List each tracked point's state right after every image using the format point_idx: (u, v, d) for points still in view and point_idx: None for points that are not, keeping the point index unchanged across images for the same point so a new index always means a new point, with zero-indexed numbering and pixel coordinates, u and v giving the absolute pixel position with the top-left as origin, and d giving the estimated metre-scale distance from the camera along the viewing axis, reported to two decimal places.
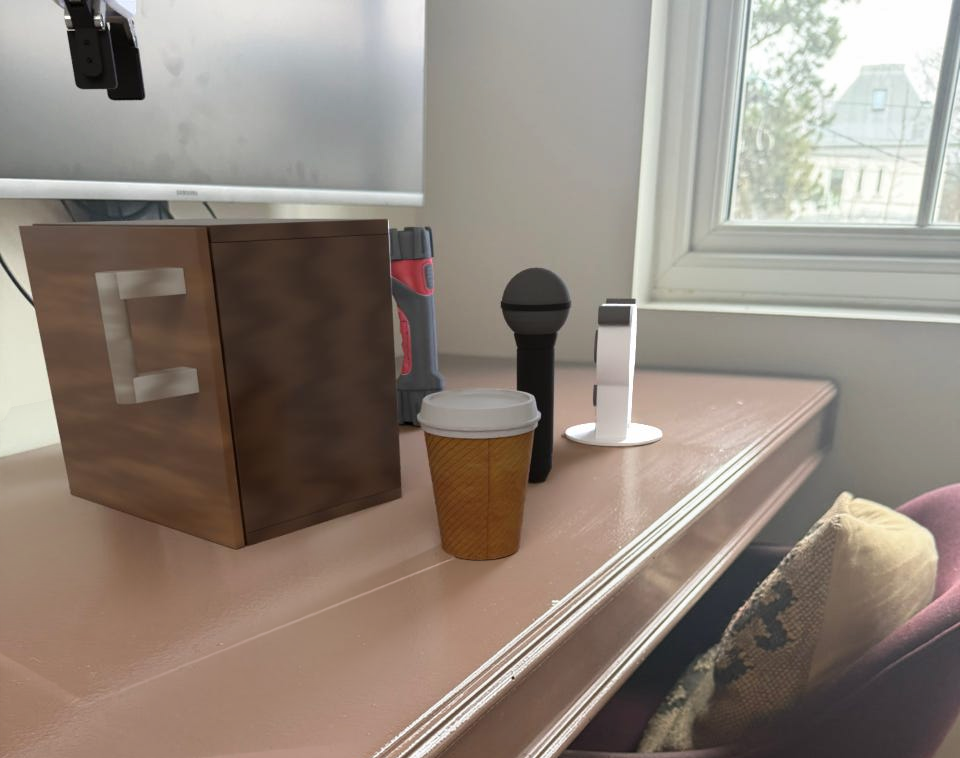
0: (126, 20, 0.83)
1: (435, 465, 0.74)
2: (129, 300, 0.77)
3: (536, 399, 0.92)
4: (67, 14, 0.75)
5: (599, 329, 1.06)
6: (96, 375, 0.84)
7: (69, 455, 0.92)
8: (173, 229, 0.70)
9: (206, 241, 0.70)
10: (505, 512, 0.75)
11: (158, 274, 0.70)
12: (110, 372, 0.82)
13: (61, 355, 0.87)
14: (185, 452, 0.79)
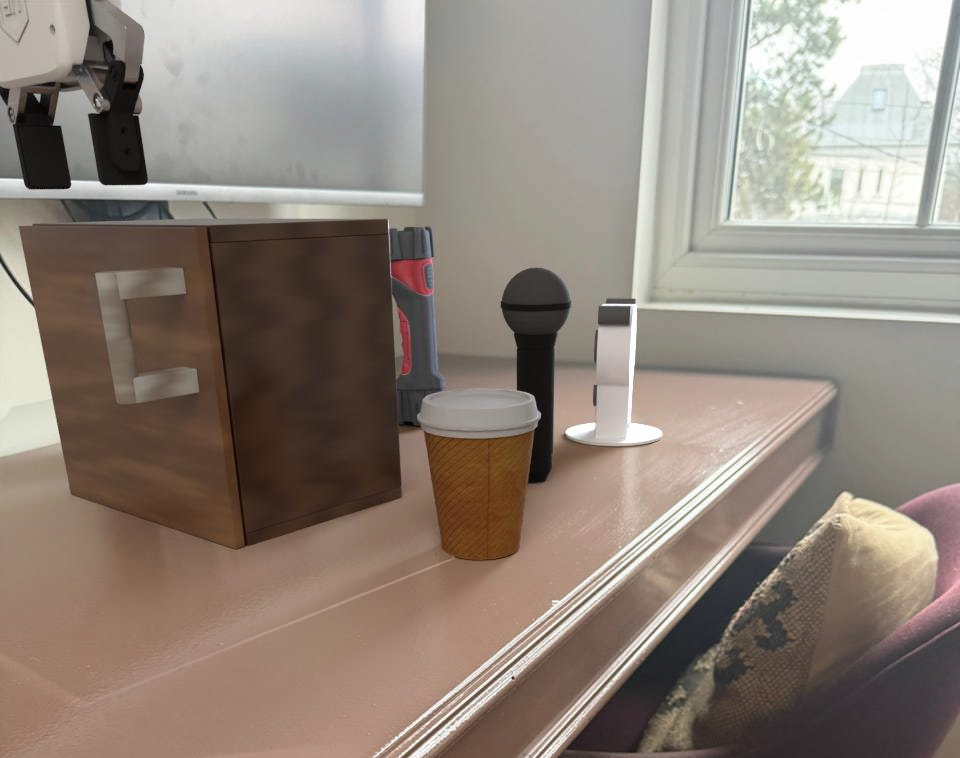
0: (57, 92, 0.66)
1: (435, 466, 0.74)
2: (129, 300, 0.77)
3: (536, 399, 0.92)
4: (104, 94, 0.59)
5: (599, 329, 1.06)
6: (96, 375, 0.84)
7: (69, 455, 0.92)
8: (173, 229, 0.70)
9: (206, 241, 0.70)
10: (505, 512, 0.75)
11: (158, 274, 0.70)
12: (110, 372, 0.82)
13: (61, 355, 0.87)
14: (185, 452, 0.79)
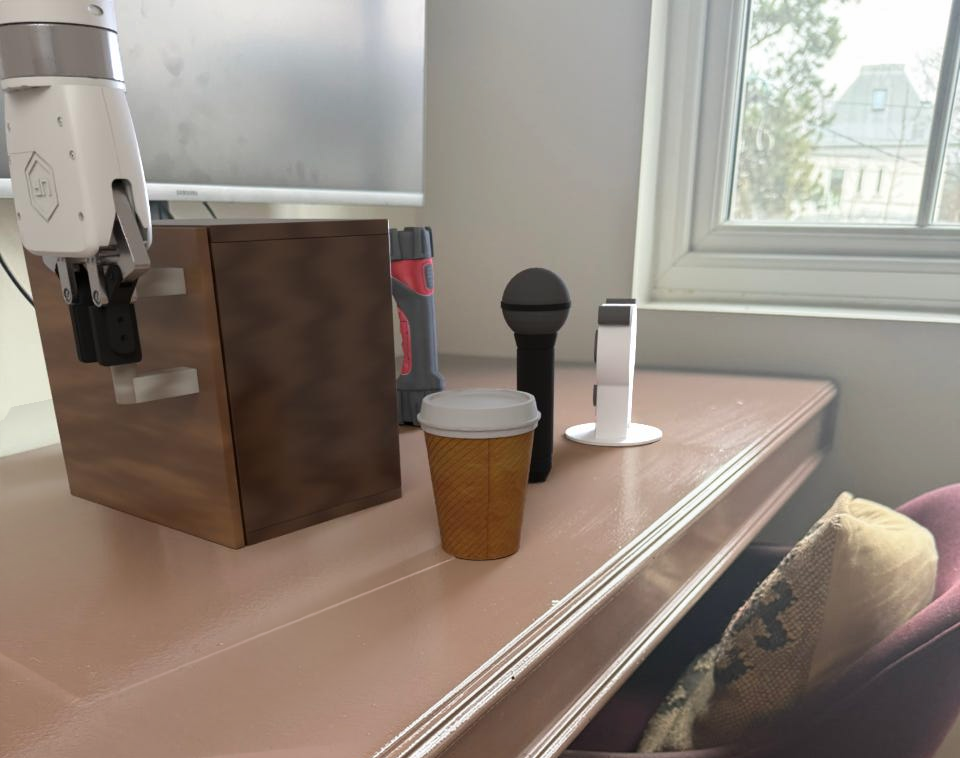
0: None
1: (435, 465, 0.74)
2: None
3: (536, 399, 0.92)
4: (105, 299, 0.66)
5: (599, 329, 1.06)
6: (96, 375, 0.84)
7: (69, 455, 0.92)
8: (173, 229, 0.70)
9: (206, 241, 0.70)
10: (505, 512, 0.75)
11: (158, 274, 0.70)
12: (110, 372, 0.82)
13: (61, 355, 0.87)
14: (185, 452, 0.79)
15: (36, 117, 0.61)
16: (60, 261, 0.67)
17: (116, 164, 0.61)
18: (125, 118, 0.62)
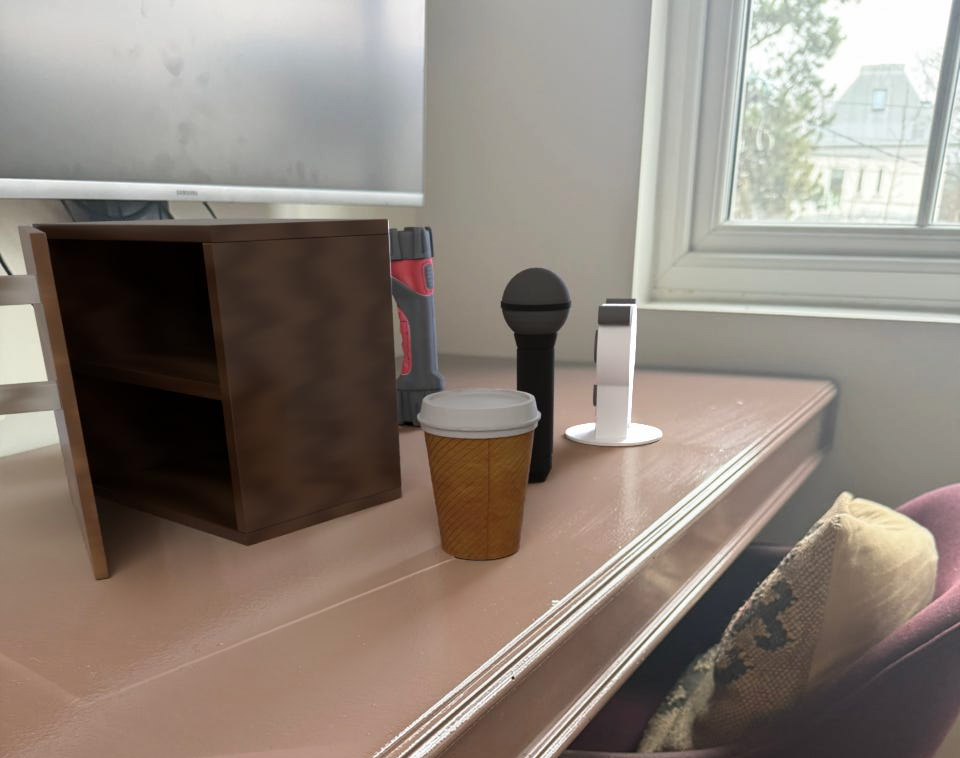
0: None
1: (435, 466, 0.74)
2: (38, 306, 0.73)
3: (536, 399, 0.92)
4: None
5: (599, 329, 1.06)
6: (50, 380, 0.82)
7: None
8: None
9: (45, 247, 0.63)
10: (505, 512, 0.75)
11: (2, 282, 0.65)
12: (50, 378, 0.80)
13: None
14: (72, 470, 0.74)
15: None
16: None
17: None
18: None
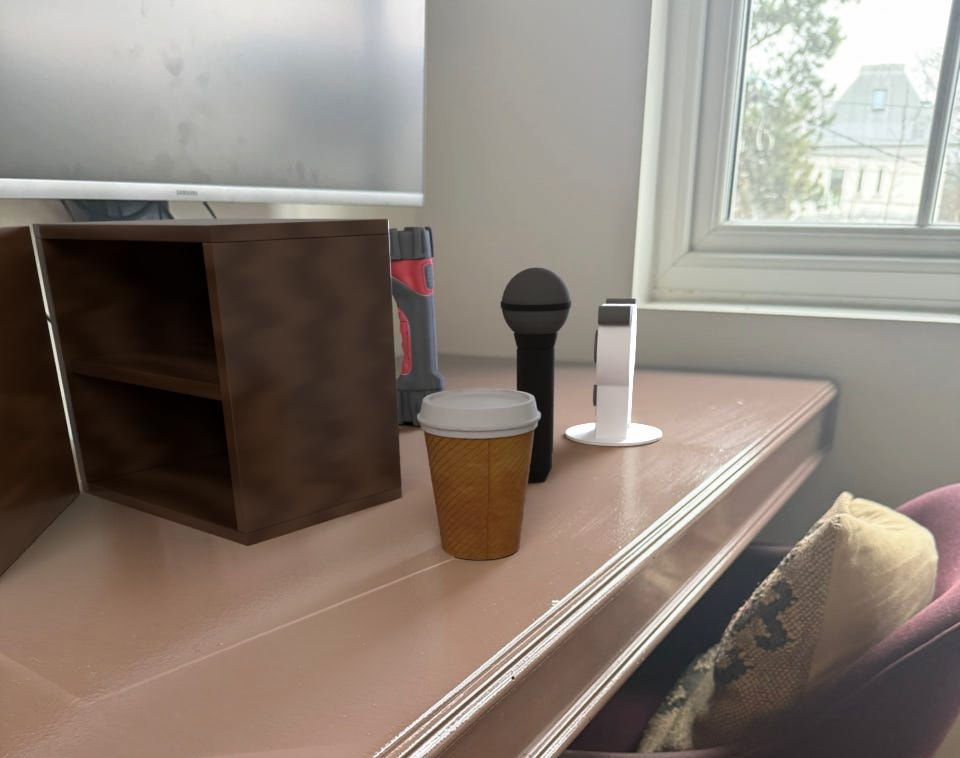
0: None
1: (435, 466, 0.74)
2: None
3: (536, 399, 0.92)
4: None
5: (599, 329, 1.06)
6: None
7: None
8: None
9: None
10: (505, 512, 0.75)
11: None
12: None
13: None
14: None
15: None
16: None
17: None
18: None
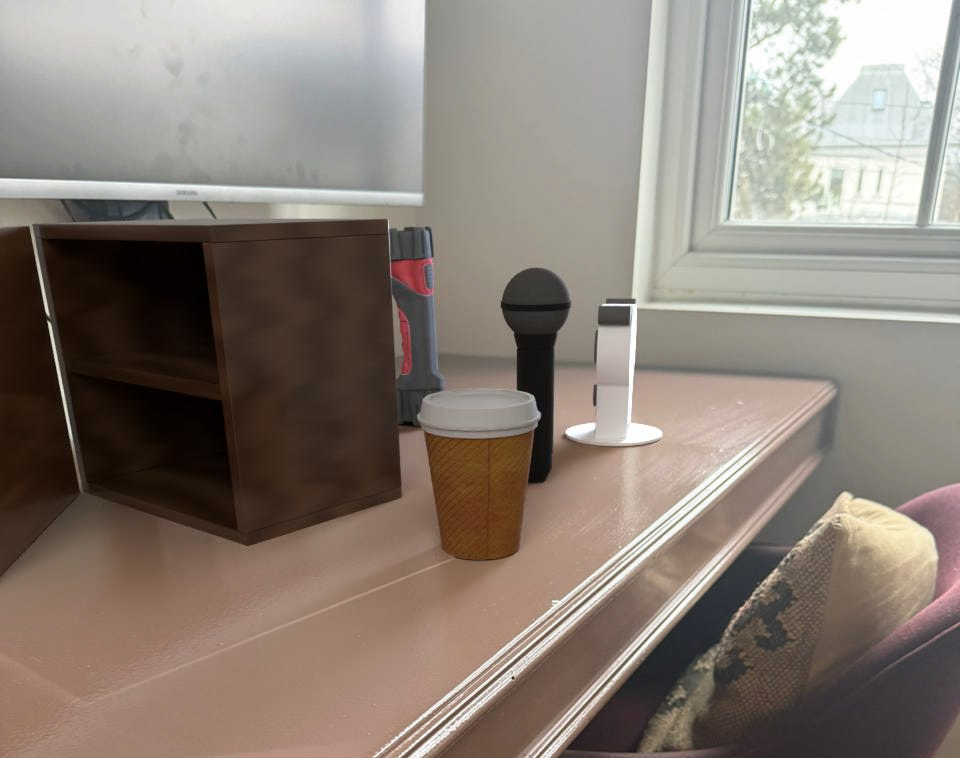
0: None
1: (435, 465, 0.74)
2: None
3: (536, 399, 0.92)
4: None
5: (599, 329, 1.06)
6: None
7: None
8: None
9: None
10: (505, 512, 0.75)
11: None
12: None
13: None
14: None
15: None
16: None
17: None
18: None
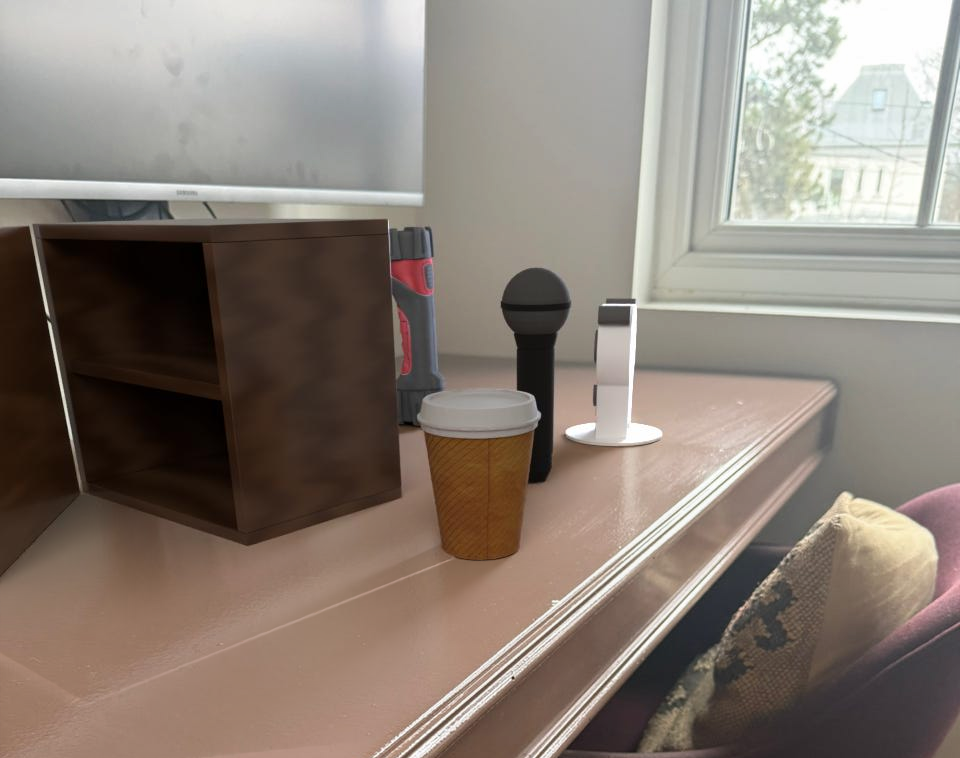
0: None
1: (435, 466, 0.74)
2: None
3: (536, 399, 0.92)
4: None
5: (599, 329, 1.06)
6: None
7: None
8: None
9: None
10: (505, 512, 0.75)
11: None
12: None
13: None
14: None
15: None
16: None
17: None
18: None
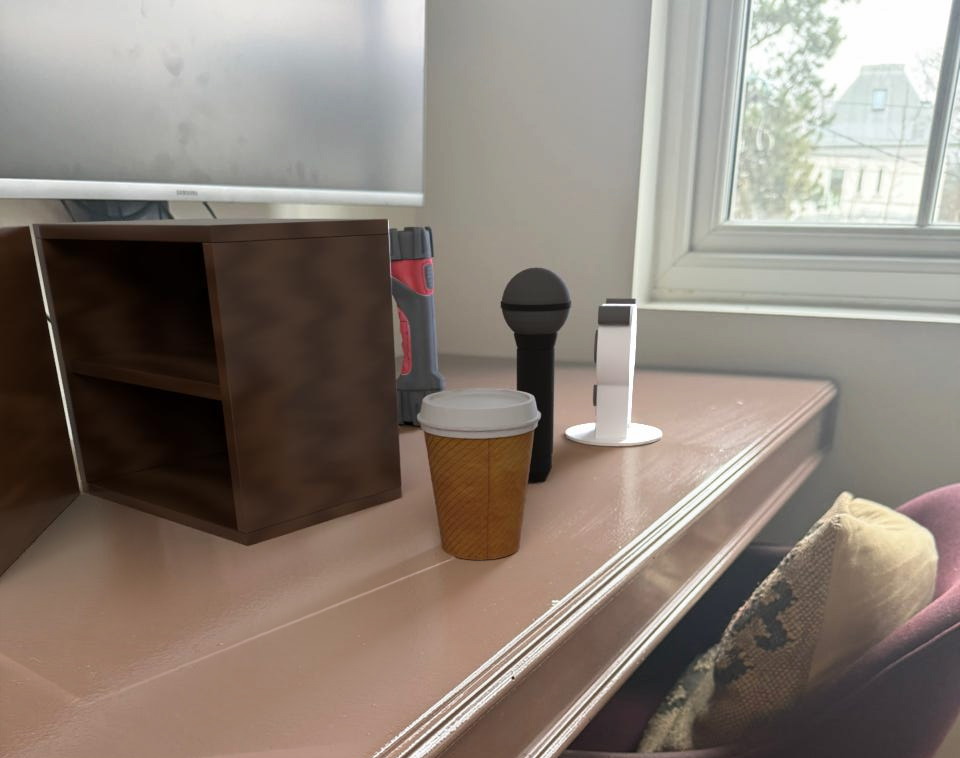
0: None
1: (435, 466, 0.74)
2: None
3: (536, 399, 0.92)
4: None
5: (599, 329, 1.06)
6: None
7: None
8: None
9: None
10: (505, 512, 0.75)
11: None
12: None
13: None
14: None
15: None
16: None
17: None
18: None
